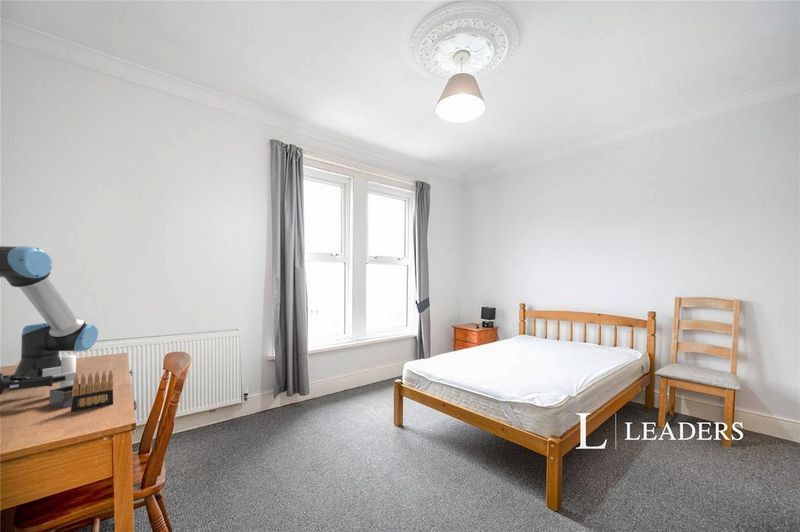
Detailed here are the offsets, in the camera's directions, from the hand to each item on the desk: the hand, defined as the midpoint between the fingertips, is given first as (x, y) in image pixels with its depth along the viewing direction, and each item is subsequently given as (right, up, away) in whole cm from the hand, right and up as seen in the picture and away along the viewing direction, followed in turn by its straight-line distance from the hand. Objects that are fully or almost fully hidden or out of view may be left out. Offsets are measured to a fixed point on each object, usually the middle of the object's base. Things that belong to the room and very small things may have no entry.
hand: (71, 372), depth 129 cm
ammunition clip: (+20, -8, -13) cm, 26 cm away
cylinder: (-1, -8, -1) cm, 8 cm away
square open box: (+9, -8, -9) cm, 15 cm away
